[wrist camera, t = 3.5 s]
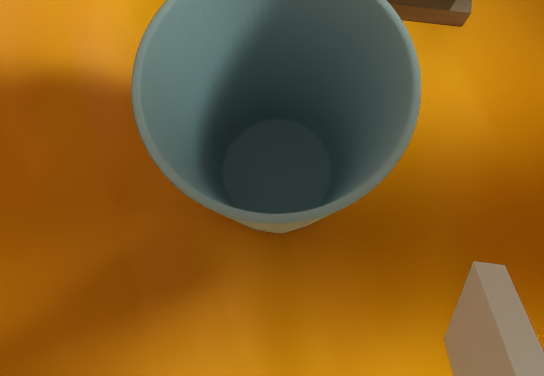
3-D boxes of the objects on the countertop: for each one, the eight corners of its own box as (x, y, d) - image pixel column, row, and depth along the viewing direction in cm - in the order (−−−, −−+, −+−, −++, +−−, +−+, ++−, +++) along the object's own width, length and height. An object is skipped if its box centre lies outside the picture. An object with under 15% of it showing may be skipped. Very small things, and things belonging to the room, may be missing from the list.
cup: (312, 290, 22) (340, 279, 12) (163, 209, 23) (73, 135, 13) (387, 144, 24) (467, 26, 14) (244, 73, 25) (220, -88, 15)
